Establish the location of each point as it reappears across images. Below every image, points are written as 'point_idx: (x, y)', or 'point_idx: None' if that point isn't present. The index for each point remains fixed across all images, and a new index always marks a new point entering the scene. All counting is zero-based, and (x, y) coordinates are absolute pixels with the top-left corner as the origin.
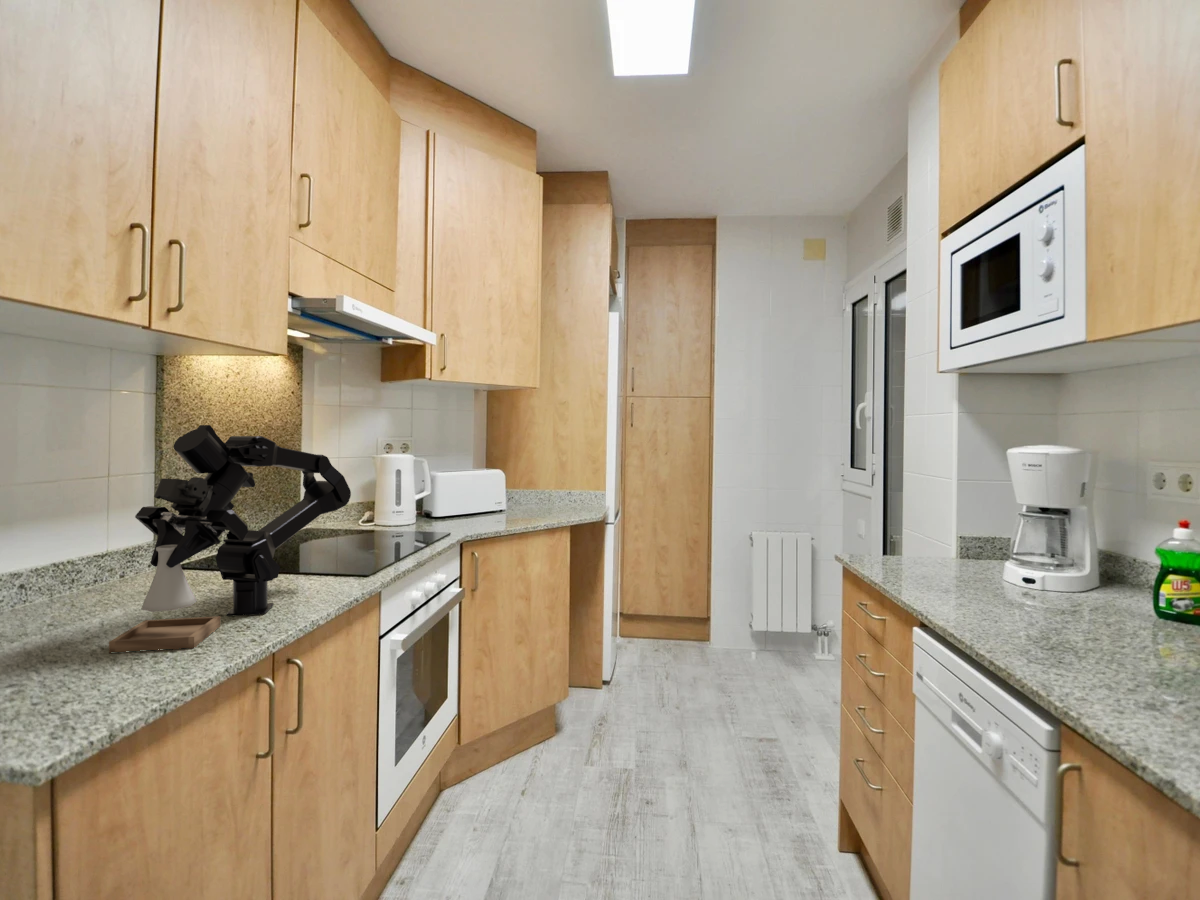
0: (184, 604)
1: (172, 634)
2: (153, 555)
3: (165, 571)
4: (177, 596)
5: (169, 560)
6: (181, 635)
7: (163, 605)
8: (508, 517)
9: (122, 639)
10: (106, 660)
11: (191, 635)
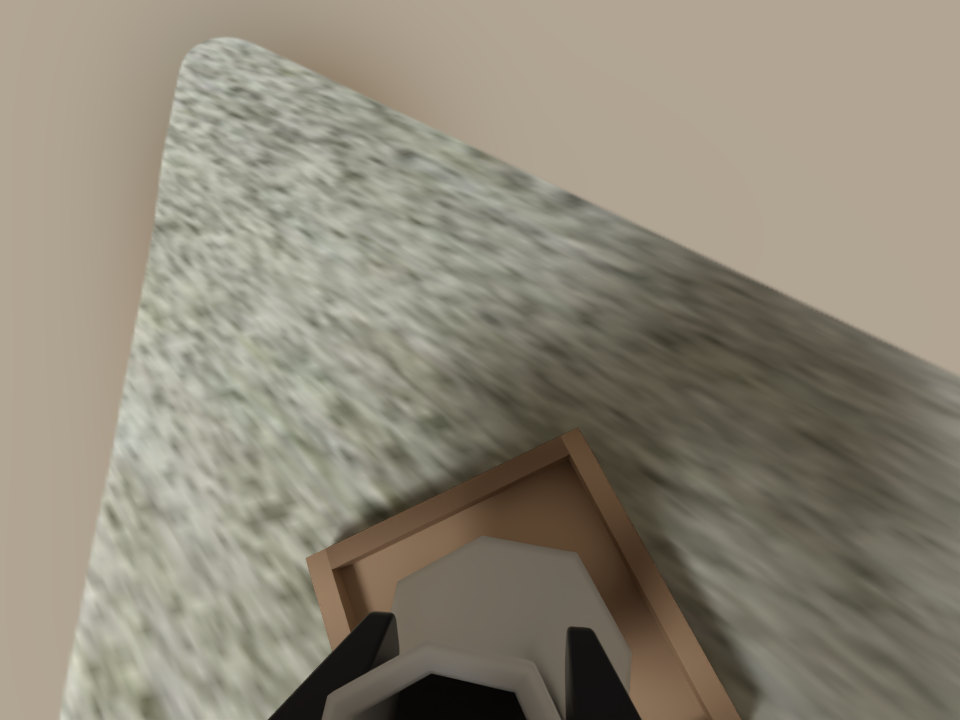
0: None
1: None
2: (613, 694)
3: (437, 631)
4: None
5: (360, 635)
6: None
7: (440, 564)
8: None
9: (586, 489)
10: (518, 387)
11: (327, 570)
